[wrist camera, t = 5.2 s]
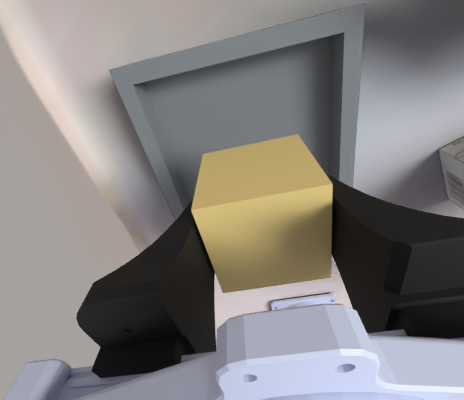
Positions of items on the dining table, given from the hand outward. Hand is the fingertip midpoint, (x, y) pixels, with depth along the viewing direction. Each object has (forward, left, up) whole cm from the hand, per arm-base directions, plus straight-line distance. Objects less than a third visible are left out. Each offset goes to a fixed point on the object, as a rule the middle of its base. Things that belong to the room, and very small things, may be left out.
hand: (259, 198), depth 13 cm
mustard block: (0, 0, -2) cm, 2 cm away
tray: (0, 0, -8) cm, 8 cm away
